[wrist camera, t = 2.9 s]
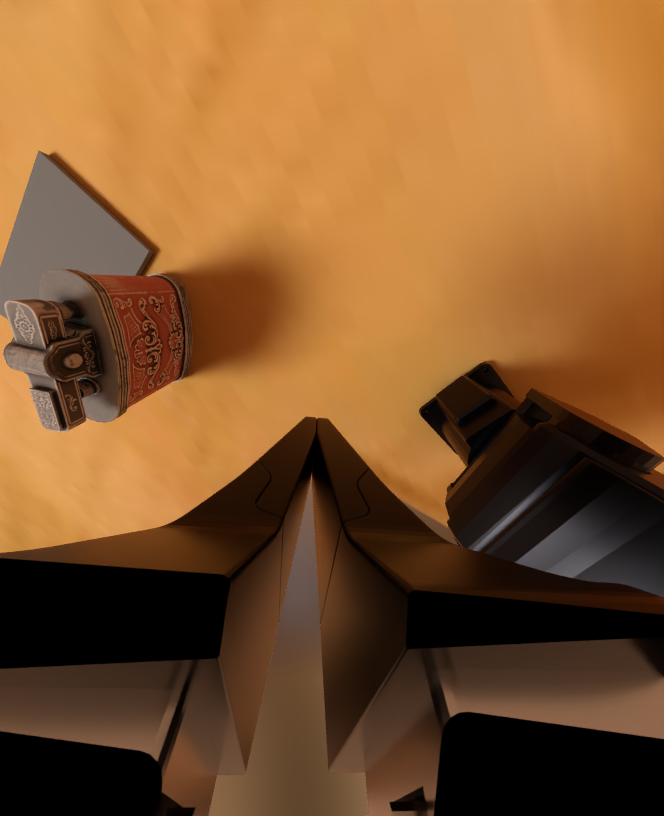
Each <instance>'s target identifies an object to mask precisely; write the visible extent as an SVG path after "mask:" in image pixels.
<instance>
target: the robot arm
mask: <svg viewBox="0 0 664 816" xmlns="http://www.w3.org/2000/svg"><path fill="white" fill-rule="evenodd" d="M484 367H486V370H485V371H483V372H482V369H483V368H484ZM526 396H527V397H526V399H525V400H524V401H523V402H522V403H521V402H519V401H518V400H516V399H515V398H514V397H513V395H512V394H511V392H510V391H509V390H508V388H507V387H506V386H505V384H504V383H503V381H502V380H501V379H500V377H499V376H498V375H497V373H496V372H495V370H494V369H493V368H492V366H491V365H490V364H488V363H481V364H479V365H478V366H476V367H475V368H474V369H472V370H471V371H470V372H468V373H467V374H466V375H464V376H461V377H460V378H458V379H457V380H455V381H454V382H453V383H451V384H450V385H449V386H447V387H446V388H445V389H443V390H442V391H441V392H439V393H438V394H437V395H436V397H434V398H433V399H432V400H430V401H429V402H428V403H426V404H425V405H424V406H422V407H421V408H420V410H419V413H420V415H421V416H422V417H423V418H424V420H425V421H426V422H427V423H428V424H429V425H430V426H431V427H432V428H433V429H434V430H435V431H436V432H437V434H438V435H439V436H440V437H441V438H442V439H443V440H444V441H445V442H446V443H447V444H448V445H449V446H450V448H451V449H452V450H453V451H454V452H455V453H456V454H457V455H459V457H460V458H461V460H462V461H463V463H464V464H465V466H466V467H467V468H466V469H465V470H464V471H463V472H462V473H461V475H460V476H459V477H458V478H457V479H456V481H455V482H454V483H451V484H450V485H449V486H448V487H447V495H446V502H445V505H446V508H447V511H448V515H449V517H450V519H449V520H448V521H447V524H448V527H449V529H450V530H451V532H452V534H453V536H454V538H455V540H456V542H457V544H458V545H459V546H458V545H455V544H453V543H450V542H448V541H447V540H445V539H443V538H442V537H440V536H439V535H437V534H436V533H435V532H434V531H433V530H431V529H430V528H429V527H428V526H427V525H426V524H425V523H424V522H423V521H422V520H421V519H419V518H418V517H417V516H416V515H415V514H414V513H413V512H412V511H411V510H410V509H409V508H408V507H407V506H406V505H405V504H404V503H403V502H402V501H401V500H399V499H398V498H397V497H396V496H395V495H394V494H393V493H392V492H391V491H390V490H389V489H388V488H387V487H386V486H385V485H384V483H383V482H382V481H381V480H380V479H379V478H378V477H377V476H376V474H375V473H374V472H373V471H372V470H371V469H370V468H369V466H368V465H367V464H366V463H365V462H364V460H363V459H362V458H361V457H360V456H359V455H358V453H357V452H356V451H355V450H354V449H353V448H352V446H351V445H350V444H349V443H348V442H347V440H346V439H345V438H344V437H343V436H342V435H341V433H340V432H339V431H338V430H337V429H336V428H335V426H334V425H333V424H332V423H331V422H330V420H329V419H326V418H318V419H316V418H315V417H305V418H304V419H303V420H302V421H300V422H299V423H298V424H297V425H296V426H295V427H294V428H293V429H292V430H290V431H289V432H288V433H287V434H286V435H285V436H284V437H283V438H282V439H280V440H279V441H278V442H277V443H276V444H275V445H274V446H273V447H272V448H270V449H269V450H268V451H267V452H266V453H265V454H264V455H263V456H262V457H260V458H259V460H257V461H256V462H255V463H254V464H253V465H251V466H250V467H249V468H248V469H247V470H246V471H244V472H243V473H242V474H241V475H240V476H238V477H237V478H236V479H234V480H233V481H232V482H230V483H229V484H228V485H226V486H225V487H223V488H222V489H221V490H219V491H218V492H216V493H215V494H214V495H212V496H211V497H209V498H208V499H207V500H205V501H204V502H202V503H201V504H199V505H198V506H197V507H195V508H194V509H192V510H191V511H190V512H188V513H187V514H185V515H184V516H182V517H181V518H179V519H177V520H175V521H173V522H171V523H169V524H167V525H164V526H161V527H158V528H153V529H148V530H143V531H137V532H131V533H126V534H120V535H115V536H109V537H103V538H98V539H92V540H87V541H81V542H75V543H70V544H64V545H59V546H53V547H46V548H40V549H33V550H25V551H16V552H6V553H0V816H208V815H209V811H210V806H211V801H212V797H213V792H214V788H215V783H216V778H217V775H243V774H245V773H246V770H247V764H248V760H249V755H250V751H251V747H252V742H253V738H254V733H255V728H256V724H257V719H258V715H259V711H260V706H261V702H262V697H263V692H264V688H265V683H266V679H267V675H268V670H269V666H270V661H271V657H272V652H273V648H274V643H275V639H276V634H277V629H278V623H279V620H280V616H281V611H282V607H283V602H284V598H285V593H286V589H287V584H288V580H289V575H290V571H291V566H292V562H293V557H294V553H295V548H296V544H297V539H298V535H299V530H300V526H301V521H302V517H303V512H304V508H305V503H306V499H307V494H308V490H309V485H310V481H311V474H312V492H313V508H314V527H315V545H316V562H317V580H318V597H319V615H320V624H321V625H320V633H321V651H322V669H323V685H324V702H325V721H326V739H327V755H328V756H327V757H328V771H329V773H358V772H365V776H366V788H367V801H368V814H367V815H365V816H664V475H663V474H661V473H660V472H658V471H656V470H654V468H656V467H657V466H658V465H660V464H661V463H662V462H663V461H664V457H663V456H661V455H660V454H658V453H657V452H656V451H654V450H653V449H651V448H650V447H649V446H647V445H646V444H644V443H643V442H641V441H640V440H639V439H637V438H636V437H634V436H632V435H630V434H628V433H626V432H624V431H622V430H620V429H618V428H616V427H614V426H612V425H610V424H608V423H606V422H604V421H602V420H600V419H598V418H596V417H594V416H592V415H590V414H588V413H586V412H584V411H581V410H579V409H577V408H575V407H573V406H570V405H568V404H566V403H564V402H562V401H559V400H557V399H555V398H553V397H551V396H548V395H546V394H544V393H542V392H539V391H537V390H535V389H533V388H532V389H531V390H530V391H529V392H528V393H527V394H526ZM425 410H428V412H427V413H424V411H425Z"/></svg>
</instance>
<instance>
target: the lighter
mask: <svg viewBox="0 0 664 816" xmlns="http://www.w3.org/2000/svg"><path fill="white" fill-rule="evenodd" d="M39 295H40V299H28V300H9V301H6V302H5V305H4V307H5V312H6V315H7V318H8V321H9V324H10V327H11V329H12V332H13V335H14V337H13V339H12V342H11V343H9V344H8V345H7V346H6V347H5V349H4V357H5V360H6V363H7V365H9V366H10V367H11V368H12V369H15V370H18V371H23V372H24V373H26V374H27V376H28V379H29V382H30V385H31V388H30V389H29V390H30V392H31V395H32V398H33V401H34V404H35V407H36V410H37V413H38V416H39V418H40V421H41V424H42V426H43V427H44V428H45V429H48V430H51V431H59V432H66V431H69V430H70V429H72V428H74V427H76V426H78V425H80V424H82V423H83V422H85V421H86V418H88V419H90V420H93V421H96V422H110V421H113V420H114V419H116V418H118V417H119V416H121V415H123V414H124V413H125V412H126V411H127V408H128V407H130V406H132V405H133V404H135V403H137V402H139V401H140V400H142V399H144V398H145V397H147V396H149V395H151V394H152V393H154V392H156V391H157V390H159V389H161V388H163V387H164V386H166V385H168V384H169V383H171V382H177V381H179V380H181V379H183V378H184V377H186V376H187V375H188V372H189V368H190V363H191V358H192V345H193V331H192V320H191V312H190V307H189V302H188V297H187V293H186V290H185V288H184V286H183V285H182V284H181V282H180V281H178V280H177V279H176V278H174V277H172V276H170V275H165V274H151V275H148V276H123V275H96V274H87V273H85V272H82V271H80V270H70V269H50V270H47V271H44V273H43V274H42V275H41V276H40V279H39Z"/></svg>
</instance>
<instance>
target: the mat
mask: <svg viewBox="0 0 664 816" xmlns="http://www.w3.org/2000/svg"><path fill="white" fill-rule="evenodd" d="M153 253H154V251H152V250H151V249H150V248H149V247H148V246H147V245H146V244H145V243H144V242H143V241H141V240H140V239H139V238H138V237H137V236H136V235H135V234H134V233H133V232H132V231H131V230H129V229H128V228H127V227H126V226H125V225H124V224H123V223H122V222H121V221H120V220H119V219H117V218H116V217H115V216H114V215H113V214H112V213H111V212H110V211H109V210H108V209H106V208H105V207H104V206H103V205H102V204H101V203H100V202H99V201H98V200H97V199H96V198H94V197H93V196H92V195H91V194H90V193H89V192H88V191H87V190H86V189H85V188H83V187H82V186H81V185H80V184H79V183H78V182H77V181H76V180H75V179H74V178H73V177H71V176H70V175H69V174H68V173H67V172H66V171H65V170H64V169H63V168H62V167H60V166H59V165H58V164H57V163H56V162H55V161H54V160H53V159H52V158H51V157H50V156H48V155H47V154H45V153H43V152H40V151H38V154H37V157H36V160H35V163H34V166H33V169H32V172H31V175H30V178H29V181H28V184H27V187H26V191H25V194H24V197H23V200H22V203H21V206H20V209H19V212H18V215H17V218H16V221H15V224H14V227H13V230H12V233H11V236H10V239H9V242H8V245H7V248H6V251H5V254H4V257H3V261H2V264H1V267H0V314H1V315H2V316H4V317H5V318H7V315H6V312H5V307H4V305H5V302H6V301H9V300H28V299H40V295H39V279H40V276H41V275H42V274H43V273H44V271H47V270H50V269H70V270H80V271H82V272H85V273H87V274H96V275H123V276H141V274H142V272H143V270H144V269H145V267H146V265H147V263H148V262H149V260H150V258H151V256H152V255H153ZM7 319H8V318H7Z"/></svg>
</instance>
